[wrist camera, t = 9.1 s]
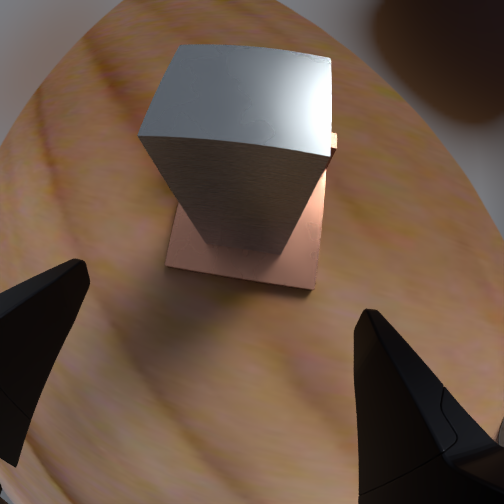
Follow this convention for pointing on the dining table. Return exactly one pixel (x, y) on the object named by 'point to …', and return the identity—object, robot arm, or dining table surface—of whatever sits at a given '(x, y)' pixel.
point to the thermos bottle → (501, 435)
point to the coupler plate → (254, 262)
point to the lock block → (241, 139)
